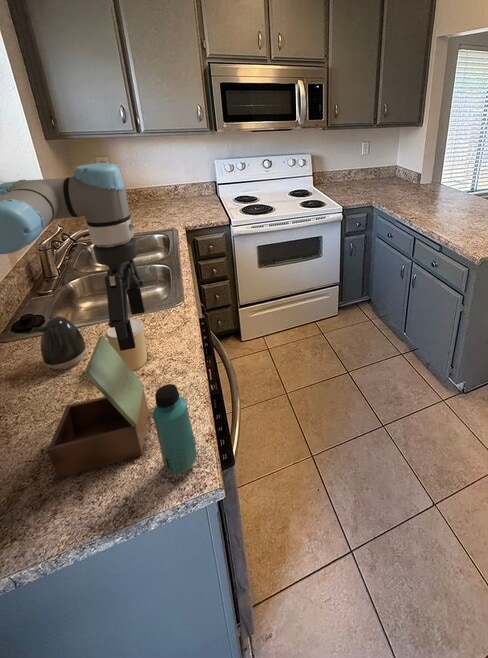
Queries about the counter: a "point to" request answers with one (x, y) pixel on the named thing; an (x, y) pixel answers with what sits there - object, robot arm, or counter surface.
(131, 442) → the brown wooden box
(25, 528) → the counter surface
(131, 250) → the robot arm
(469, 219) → the counter surface
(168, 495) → the counter surface
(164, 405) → the beverage bottle
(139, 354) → the coffee cup
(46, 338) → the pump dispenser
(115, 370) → the lid
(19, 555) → the counter surface
